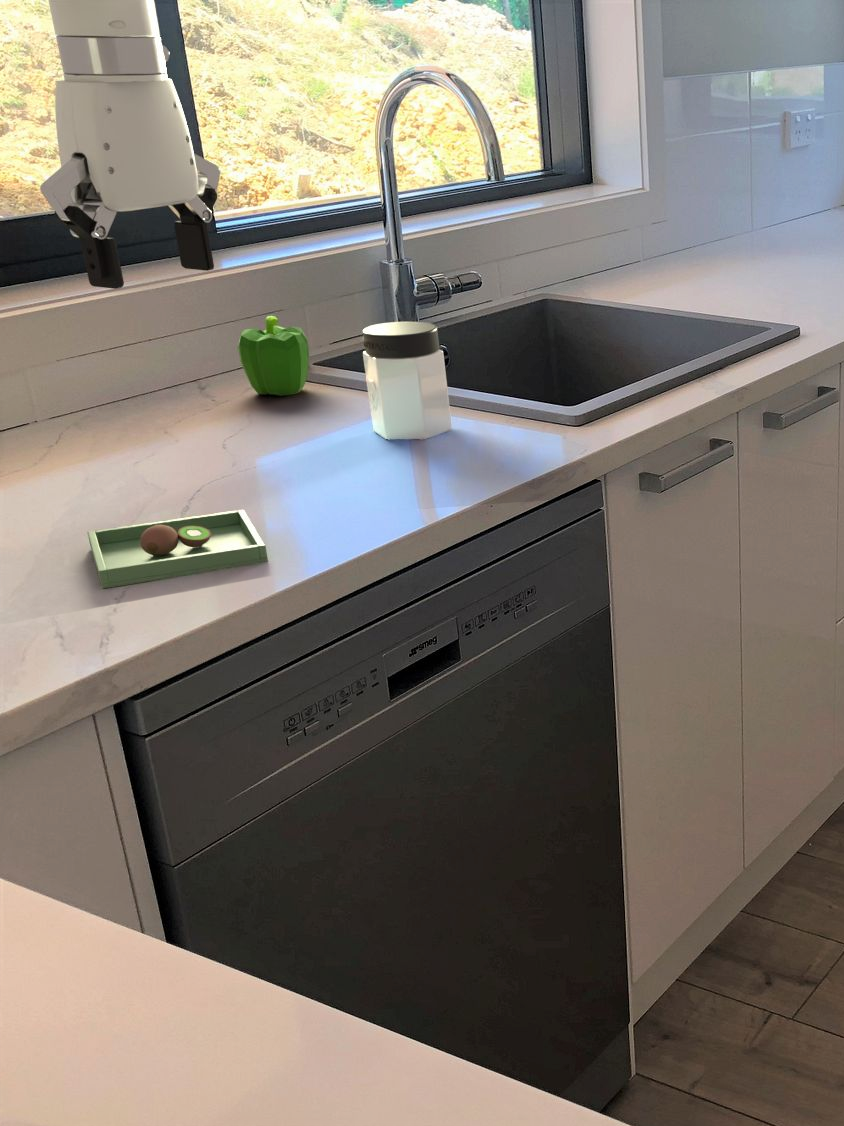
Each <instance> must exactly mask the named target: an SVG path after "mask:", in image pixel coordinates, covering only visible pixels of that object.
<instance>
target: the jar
mask: <svg viewBox="0 0 844 1126" xmlns="http://www.w3.org/2000/svg"><path fill="white" fill-rule="evenodd" d="M362 337H363V338H362V342H363V347H364V351H363V352H362V357H363V359H362V360H363V366H364V372H365V380H366V387H367V394H368V402H369V408H370V409H369V410H370V417H371V421H372V423H371V424H372V431H373V432H374V431H375V432H374V433H376V434H377V435H379V436H380V437H382V439H384V440H386V439H388V440H387V441H391V440H390V439H420V440H428V439H427V438H429V439H431V438H433V436H434V437H437V436H439V435H442V434H444V432H445V433H448V432H450V431H452V429H453V424H452V423H453V422H452V416H451V415H452V414H451V407H450V399H449V398H450V397H449V391H448V381H447V373H446V366H445V365H446V364H445V355H444V351H443V350H442V349H440V342H439V341H440V340H439V333H438V326H436V324H435V323H431V322H426V321H425V322H424V321H407V320H406V321H392V322H391V321H390V322H383V323H377V324H373V325H369V326H367V327H365V328H364V329H363V330H362ZM441 433H442V434H441ZM438 434H439V435H438ZM436 435H437V436H436ZM430 437H431V438H430Z"/></svg>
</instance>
